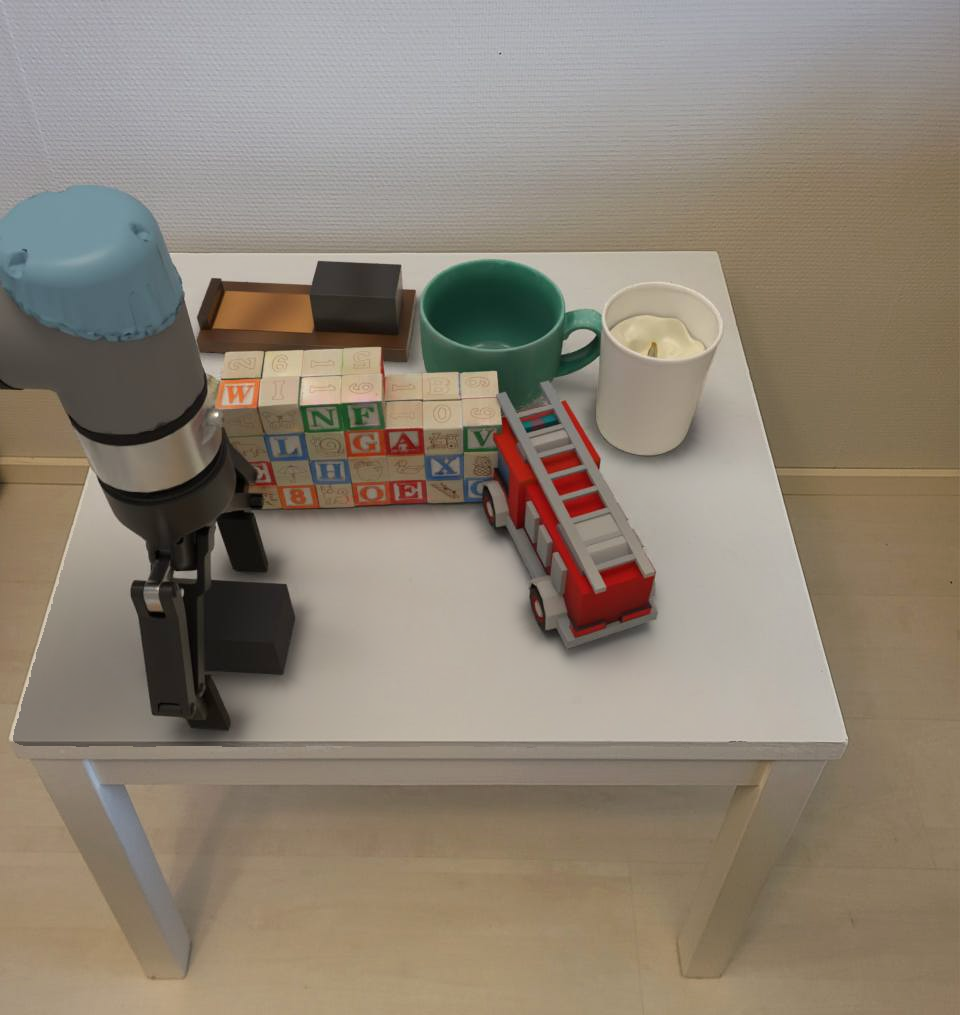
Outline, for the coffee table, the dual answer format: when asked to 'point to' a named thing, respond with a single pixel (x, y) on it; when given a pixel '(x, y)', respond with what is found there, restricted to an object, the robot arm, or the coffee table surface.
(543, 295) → the mug
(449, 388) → the stack of blocks
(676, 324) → the candle holder
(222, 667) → the black block
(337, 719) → the coffee table surface
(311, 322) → the brown wooden tray
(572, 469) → the toy fire truck
